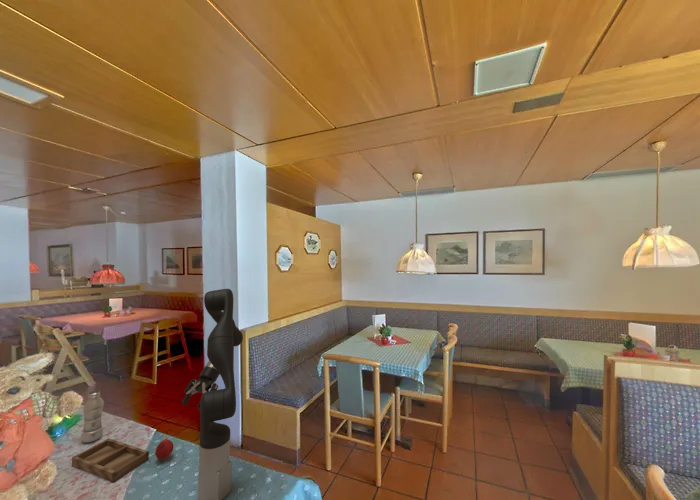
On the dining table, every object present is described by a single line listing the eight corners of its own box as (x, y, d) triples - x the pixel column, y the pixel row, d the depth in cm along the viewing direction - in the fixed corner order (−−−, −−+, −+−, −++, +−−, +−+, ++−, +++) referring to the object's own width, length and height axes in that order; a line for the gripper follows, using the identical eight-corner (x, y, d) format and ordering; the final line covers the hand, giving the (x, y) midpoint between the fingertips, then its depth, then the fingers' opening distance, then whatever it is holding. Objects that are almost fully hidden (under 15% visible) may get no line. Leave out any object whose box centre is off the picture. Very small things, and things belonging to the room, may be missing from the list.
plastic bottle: (84, 437, 120) (87, 390, 120) (104, 433, 122) (107, 387, 123) (77, 447, 114) (80, 397, 114) (99, 442, 116) (101, 393, 117)
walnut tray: (148, 459, 107) (148, 451, 107) (113, 482, 96) (114, 473, 96) (108, 445, 115) (108, 438, 115) (71, 466, 103) (72, 457, 103)
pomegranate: (163, 466, 104) (164, 444, 104) (151, 463, 105) (152, 441, 106) (176, 455, 110) (177, 434, 110) (164, 453, 111) (165, 432, 111)
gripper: (196, 363, 130) (172, 400, 119) (221, 367, 125) (198, 406, 114) (205, 370, 135) (183, 406, 123) (229, 375, 130) (208, 412, 119)
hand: (190, 406), depth 119 cm, fingers open, 8 cm apart
